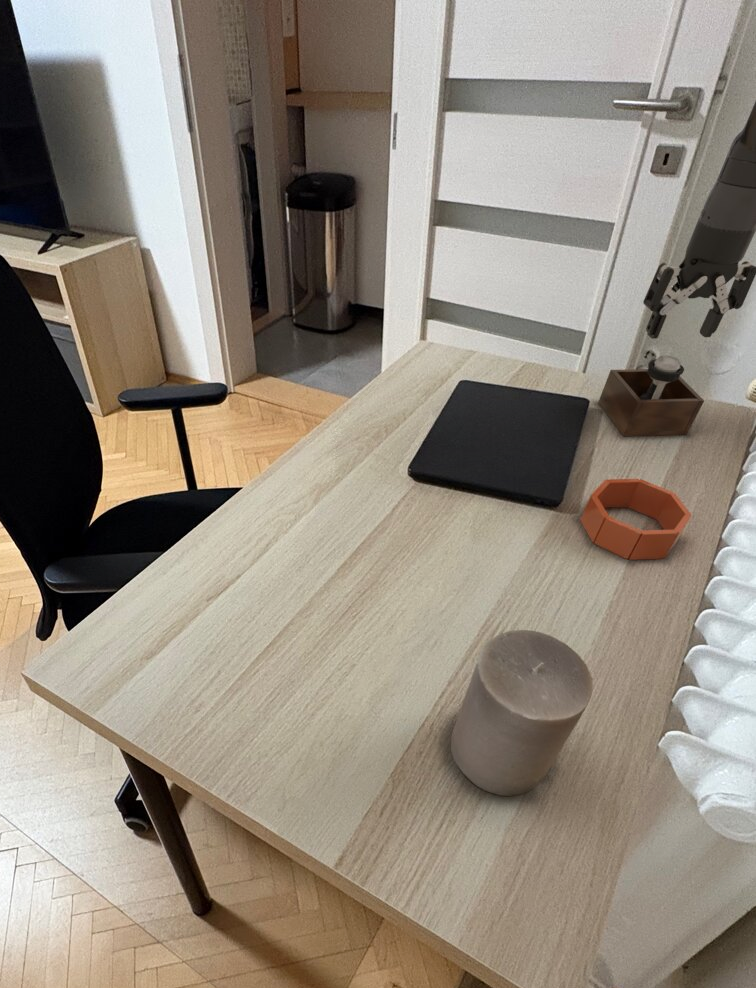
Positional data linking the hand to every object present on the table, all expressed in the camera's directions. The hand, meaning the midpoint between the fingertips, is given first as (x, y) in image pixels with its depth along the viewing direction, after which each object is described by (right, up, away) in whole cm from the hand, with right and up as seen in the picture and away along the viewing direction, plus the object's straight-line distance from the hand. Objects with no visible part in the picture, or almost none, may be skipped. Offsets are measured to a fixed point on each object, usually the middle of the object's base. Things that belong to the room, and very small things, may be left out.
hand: (678, 336), depth 97 cm
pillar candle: (-40, -57, -35) cm, 78 cm away
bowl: (-14, -32, -11) cm, 36 cm away
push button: (0, -10, +10) cm, 14 cm away
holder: (0, -10, +10) cm, 14 cm away
